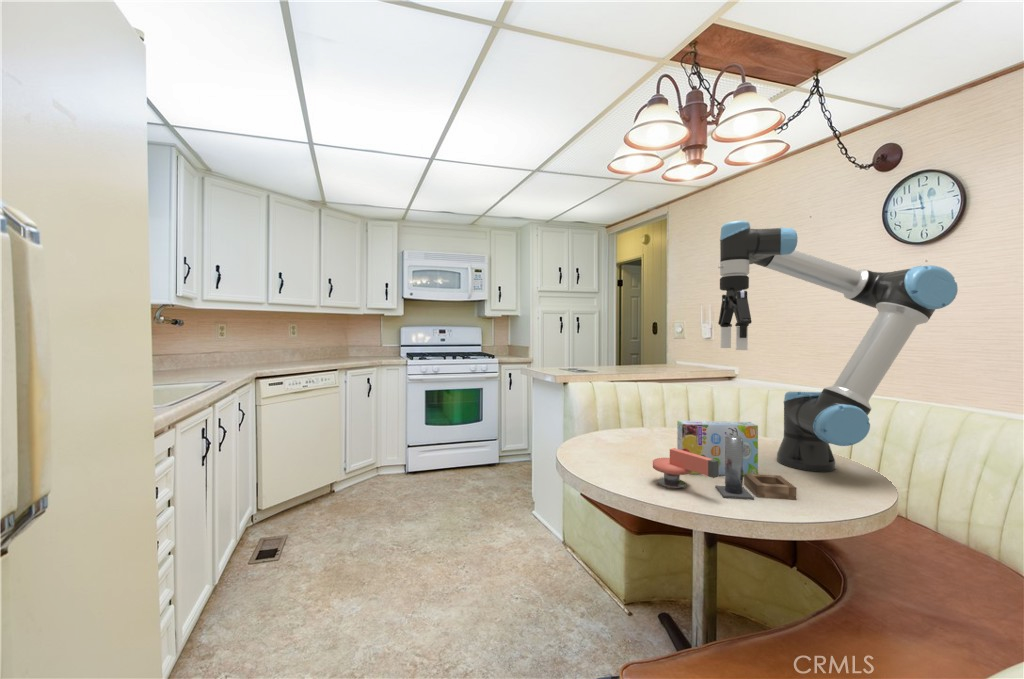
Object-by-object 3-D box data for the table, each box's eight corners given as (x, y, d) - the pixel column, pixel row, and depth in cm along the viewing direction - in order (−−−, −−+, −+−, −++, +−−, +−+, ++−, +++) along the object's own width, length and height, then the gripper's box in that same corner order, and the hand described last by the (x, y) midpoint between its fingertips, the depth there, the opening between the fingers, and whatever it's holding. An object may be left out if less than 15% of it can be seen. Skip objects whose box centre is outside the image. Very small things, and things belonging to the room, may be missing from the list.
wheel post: (682, 480, 118) (682, 466, 118) (688, 489, 111) (688, 474, 111) (656, 478, 119) (656, 464, 119) (660, 488, 112) (660, 473, 112)
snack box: (749, 471, 127) (750, 421, 126) (758, 477, 121) (759, 425, 121) (676, 468, 129) (677, 419, 129) (681, 474, 123) (682, 423, 123)
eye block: (780, 486, 114) (780, 475, 114) (796, 499, 105) (796, 487, 105) (744, 484, 115) (744, 473, 115) (757, 497, 106) (757, 485, 106)
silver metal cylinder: (739, 488, 110) (739, 435, 110) (745, 494, 106) (745, 439, 106) (723, 487, 111) (723, 435, 111) (728, 493, 107) (728, 438, 107)
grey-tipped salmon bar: (728, 479, 107) (728, 458, 106) (703, 487, 101) (703, 464, 101) (668, 460, 122) (669, 442, 122) (644, 466, 117) (645, 446, 117)
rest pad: (743, 489, 112) (743, 487, 112) (753, 499, 105) (753, 497, 105) (715, 487, 113) (715, 485, 113) (723, 497, 106) (723, 495, 106)
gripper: (708, 281, 136) (707, 347, 136) (735, 270, 111) (734, 350, 111) (733, 281, 134) (732, 347, 135) (766, 269, 110) (765, 351, 110)
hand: (733, 349), depth 123 cm, fingers open, 13 cm apart
